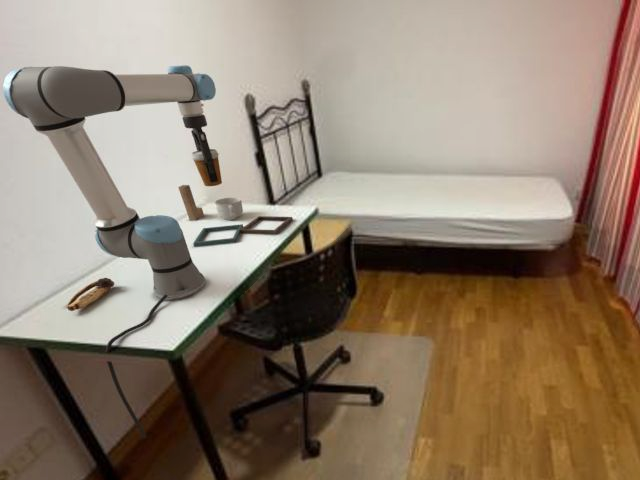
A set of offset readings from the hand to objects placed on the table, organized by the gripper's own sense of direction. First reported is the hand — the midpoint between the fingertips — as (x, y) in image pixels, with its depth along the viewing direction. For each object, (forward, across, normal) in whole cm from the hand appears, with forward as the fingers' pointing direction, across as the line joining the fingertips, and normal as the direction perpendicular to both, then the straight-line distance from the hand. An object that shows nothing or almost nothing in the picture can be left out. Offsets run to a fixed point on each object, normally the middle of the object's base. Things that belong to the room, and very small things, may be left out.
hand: (211, 179), depth 172 cm
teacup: (+23, +19, -6) cm, 31 cm away
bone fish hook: (+23, -27, +50) cm, 61 cm away
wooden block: (+23, +32, +6) cm, 40 cm away
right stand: (+23, -1, -16) cm, 28 cm away
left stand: (+23, +1, +3) cm, 23 cm away
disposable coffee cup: (+2, 0, 0) cm, 2 cm away
